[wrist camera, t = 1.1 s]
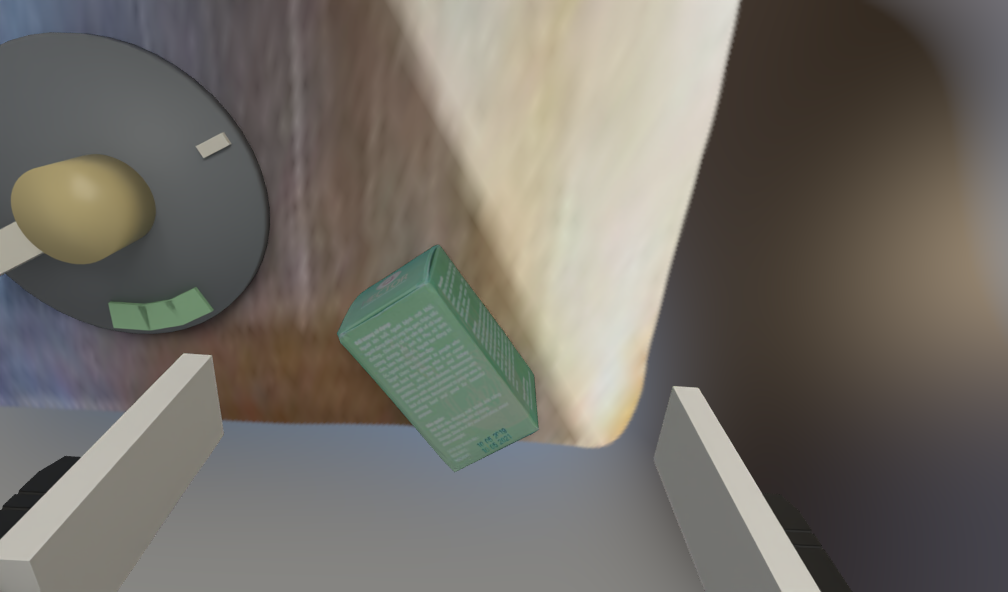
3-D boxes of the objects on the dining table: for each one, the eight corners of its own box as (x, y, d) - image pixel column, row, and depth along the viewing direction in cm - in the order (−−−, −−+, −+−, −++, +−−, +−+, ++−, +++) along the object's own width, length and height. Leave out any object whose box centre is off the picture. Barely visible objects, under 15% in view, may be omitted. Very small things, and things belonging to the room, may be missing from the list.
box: (437, 237, 39) (425, 278, 32) (535, 371, 44) (543, 431, 37) (356, 289, 41) (329, 338, 34) (460, 412, 45) (454, 477, 39)
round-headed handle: (113, 138, 35) (68, 148, 31) (174, 221, 37) (140, 240, 33) (-46, 224, 37) (-105, 243, 33) (22, 297, 39) (-27, 323, 35)
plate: (-113, 121, 35) (-138, 124, 34) (139, -30, 32) (123, -33, 30) (104, 364, 43) (92, 374, 41) (325, 261, 40) (319, 269, 38)
